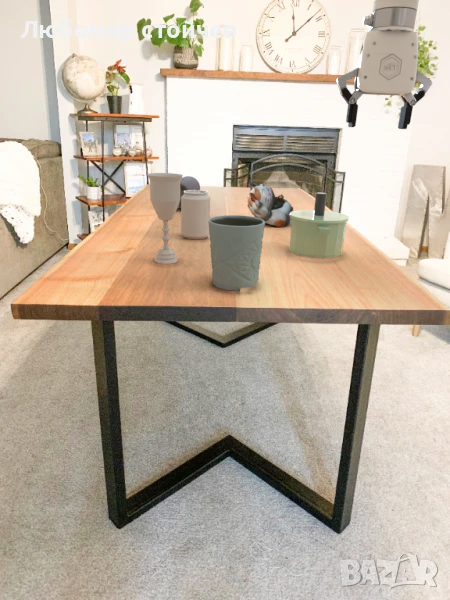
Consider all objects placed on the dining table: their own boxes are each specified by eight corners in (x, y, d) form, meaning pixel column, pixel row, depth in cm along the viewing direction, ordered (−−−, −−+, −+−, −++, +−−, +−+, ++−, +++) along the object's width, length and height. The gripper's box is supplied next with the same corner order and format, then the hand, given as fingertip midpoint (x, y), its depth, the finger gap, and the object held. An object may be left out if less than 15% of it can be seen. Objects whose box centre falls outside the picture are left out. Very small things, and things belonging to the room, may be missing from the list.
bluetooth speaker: (177, 200, 172) (177, 174, 169) (201, 202, 172) (201, 175, 168) (164, 210, 151) (163, 180, 148) (191, 212, 150) (191, 182, 147)
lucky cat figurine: (291, 229, 130) (273, 186, 124) (254, 240, 136) (235, 200, 129) (297, 206, 142) (281, 167, 135) (263, 217, 147) (246, 180, 140)
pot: (334, 244, 115) (338, 211, 112) (349, 264, 98) (354, 226, 95) (285, 242, 115) (288, 209, 112) (292, 262, 98) (296, 224, 95)
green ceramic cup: (267, 291, 80) (272, 225, 76) (212, 293, 78) (214, 226, 74) (252, 273, 89) (256, 214, 85) (203, 275, 87) (204, 214, 83)
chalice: (143, 262, 94) (140, 174, 88) (158, 254, 100) (156, 172, 94) (174, 266, 92) (173, 177, 85) (188, 258, 98) (188, 174, 91)
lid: (341, 215, 110) (344, 190, 107) (354, 227, 97) (358, 198, 95) (286, 213, 110) (288, 188, 108) (292, 224, 97) (294, 196, 95)
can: (177, 239, 114) (177, 191, 110) (185, 232, 121) (185, 188, 117) (206, 241, 113) (207, 193, 109) (211, 234, 120) (213, 189, 116)
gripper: (347, 18, 75) (335, 126, 82) (450, 21, 75) (429, 129, 81) (339, 27, 82) (328, 126, 88) (432, 30, 82) (415, 129, 88)
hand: (376, 127), depth 85 cm, fingers open, 9 cm apart
